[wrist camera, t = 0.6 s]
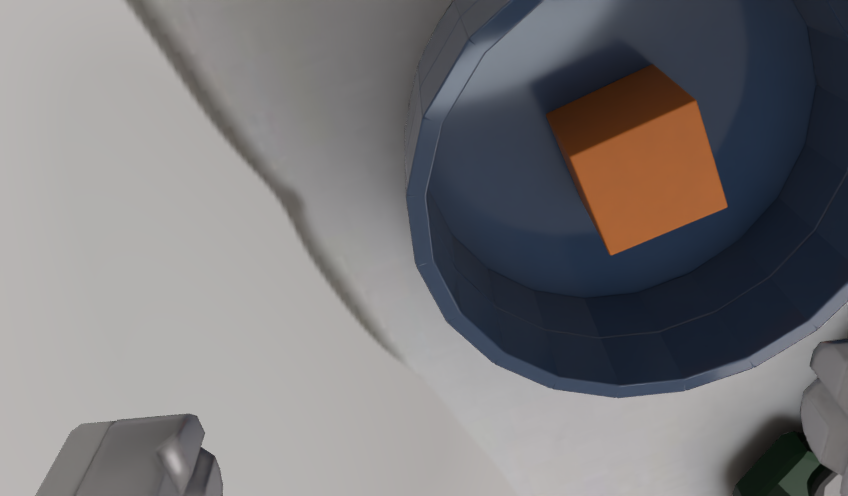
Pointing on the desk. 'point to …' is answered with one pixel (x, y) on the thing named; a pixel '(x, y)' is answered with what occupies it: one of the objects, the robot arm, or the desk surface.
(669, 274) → the bowl
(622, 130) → the block
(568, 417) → the desk surface
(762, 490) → the flat green button pad
